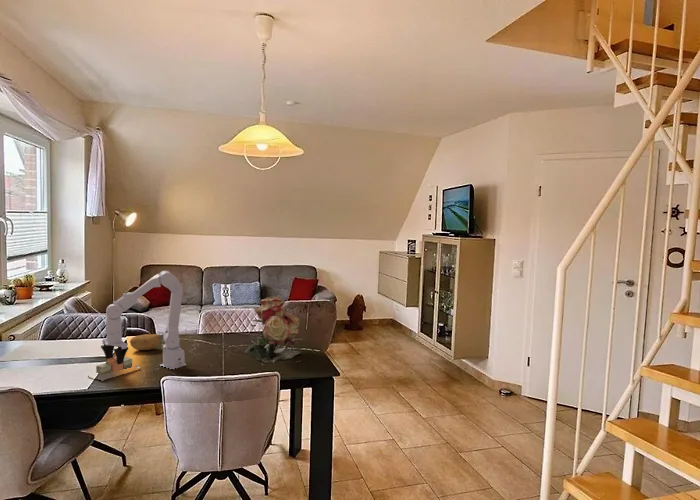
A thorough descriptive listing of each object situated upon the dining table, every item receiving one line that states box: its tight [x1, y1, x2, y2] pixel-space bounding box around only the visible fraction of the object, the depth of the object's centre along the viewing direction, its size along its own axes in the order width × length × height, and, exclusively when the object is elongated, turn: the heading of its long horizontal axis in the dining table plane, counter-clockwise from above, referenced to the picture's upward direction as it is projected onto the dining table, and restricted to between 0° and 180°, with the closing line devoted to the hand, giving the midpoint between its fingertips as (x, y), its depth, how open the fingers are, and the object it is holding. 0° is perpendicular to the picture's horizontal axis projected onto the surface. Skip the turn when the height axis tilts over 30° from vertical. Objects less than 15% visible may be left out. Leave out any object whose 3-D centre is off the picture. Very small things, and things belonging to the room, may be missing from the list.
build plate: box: [95, 356, 141, 375], centre depth 196 cm, size 10×18×5 cm, turn 151°
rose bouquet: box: [240, 294, 302, 364], centre depth 228 cm, size 26×29×30 cm
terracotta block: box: [106, 356, 123, 372], centre depth 196 cm, size 4×4×6 cm
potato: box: [129, 333, 161, 351], centre depth 229 cm, size 10×14×8 cm
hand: (114, 362), depth 196 cm, fingers open, 7 cm apart
